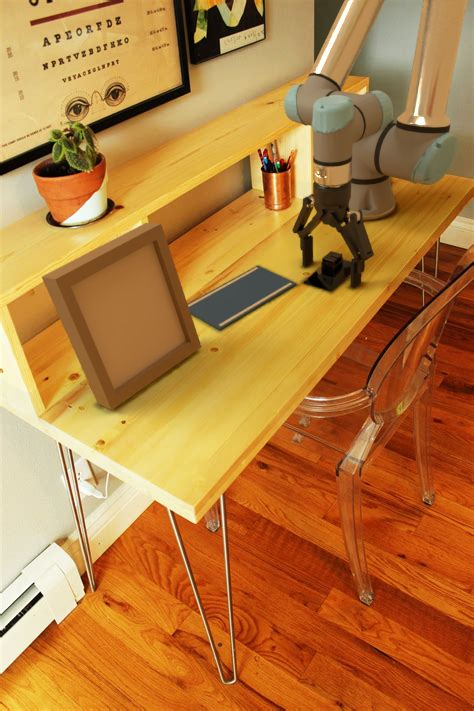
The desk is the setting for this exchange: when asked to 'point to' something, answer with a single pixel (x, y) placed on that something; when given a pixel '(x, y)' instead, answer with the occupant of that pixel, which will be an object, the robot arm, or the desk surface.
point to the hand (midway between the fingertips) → (331, 274)
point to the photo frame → (124, 313)
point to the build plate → (330, 272)
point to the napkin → (239, 297)
